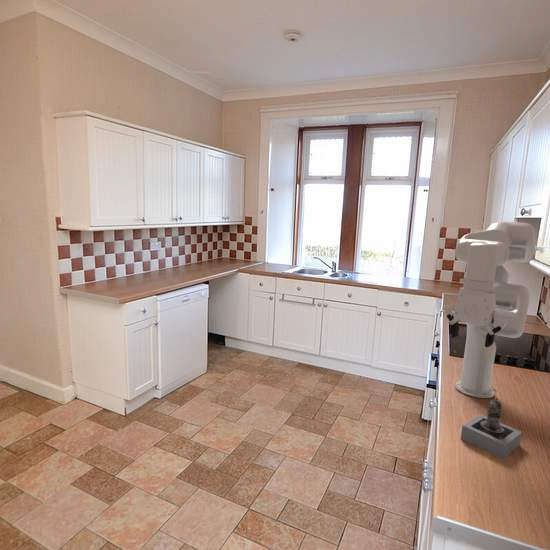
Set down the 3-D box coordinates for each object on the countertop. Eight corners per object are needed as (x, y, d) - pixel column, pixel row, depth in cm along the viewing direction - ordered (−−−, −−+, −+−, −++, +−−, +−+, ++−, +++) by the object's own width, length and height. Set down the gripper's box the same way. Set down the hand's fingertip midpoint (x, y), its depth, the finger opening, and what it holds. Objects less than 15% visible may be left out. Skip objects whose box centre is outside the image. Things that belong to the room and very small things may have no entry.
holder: (478, 426, 113) (480, 414, 112) (519, 445, 104) (522, 432, 104) (460, 438, 106) (462, 425, 106) (503, 459, 98) (505, 445, 97)
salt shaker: (494, 432, 108) (500, 393, 106) (507, 445, 103) (514, 403, 101) (474, 431, 108) (480, 392, 106) (486, 444, 102) (492, 402, 100)
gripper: (443, 281, 114) (436, 335, 118) (506, 293, 102) (497, 353, 105) (454, 278, 119) (448, 331, 122) (516, 289, 106) (507, 347, 110)
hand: (470, 341), depth 114 cm, fingers open, 9 cm apart
